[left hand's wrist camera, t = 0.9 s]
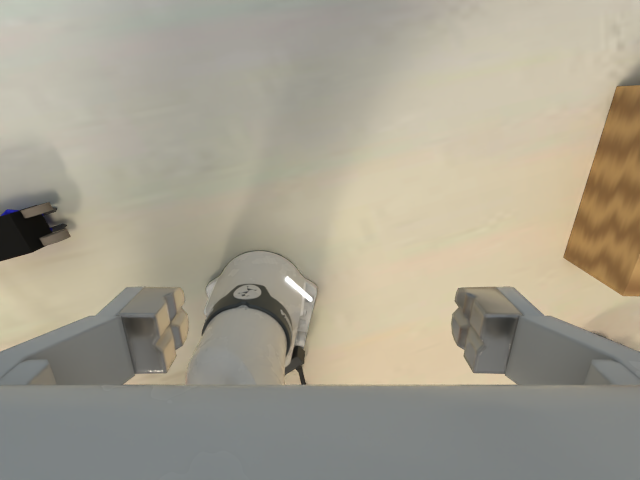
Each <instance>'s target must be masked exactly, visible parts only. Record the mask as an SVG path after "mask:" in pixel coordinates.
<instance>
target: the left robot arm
mask: <svg viewBox="0 0 640 480" xmlns="http://www.w3.org/2000/svg"><path fill="white" fill-rule="evenodd" d="M206 293H207V296H208V301H207V303H206V306H205V308H204V314H205V315H206V320H205V323H204V327H203V330H202V337H201V339H200V341H199V343H198V345H197V347H196V349H195V351H194V353H193V355H192V357H191V359H190V361H189V363H188V366H187V370H186V381H185V383H186V385H123V384H124V383H125V382H127V381H128V380H129V379H131V378H132V377H133V376H135V374H146V373H167V372H168V370H169V368H170V366H171V365H172V363H173V361H174V360H175V358H176V349H178V348H180V347H181V346H183V344H184V342H185V340H186V338H187V334H188V329H189V321H188V314H187V313H186V312H185V311H184V310H183V309H182V308H181V307H182V305H183V304H184V302H185V296H184V291H183V290H182V289H181V288H180V287H145V286H144V287H126V288H125V289H124V290H123V291H122V292H121V293H120V294H119V295H118V296H116V297H115V298H114V299H113V300H112V301H111V302H110V303H109V304H108V305H107V306H105V307H104V308H103V309H102V310H101V311H100V312H99V313H98V314H97V315H96V316H88V317H86V318H83V319H81V320H78V321H76V322H73V323H71V324H68V325H66V326H63V327H61V328H58V329H56V330H53V331H51V332H48V333H46V334H43V335H41V336H38V337H36V338H33V339H31V340H28V341H26V342H23V343H21V344H18V345H16V346H13V347H11V348H8V349H6V350H3V351H1V352H0V480H640V352H639V351H636V350H634V349H631V348H629V347H626V346H624V345H621V344H619V343H616V342H614V341H611V340H609V339H607V338H604V337H602V336H599V335H597V334H594V333H592V332H589V331H587V330H584V329H582V328H579V327H577V326H574V325H572V324H569V323H567V322H564V321H562V320H559V319H557V318H554V317H552V316H544V315H543V314H542V313H541V312H540V311H539V310H538V309H537V308H536V307H535V306H533V305H532V304H531V303H530V302H529V301H528V300H527V299H526V298H525V297H524V296H523V295H521V294H520V293H519V292H518V291H517V290H516V289H515V288H513V287H510V286H507V287H465V288H458V290H457V292H456V296H455V302H456V304H457V305H458V307H459V308H458V309H457V310H456V311H455V312H454V313H453V314H452V322H451V327H452V334H453V338H454V340H455V342H456V344H457V346H459V347H460V348H462V349H464V350H465V351H464V358H465V360H466V361H467V363H468V365H469V366H470V368H471V370H472V371H473V373H494V374H505V376H507V377H508V378H509V379H511V380H512V381H513V382H515V383H516V384H518V385H306V384H305V380H304V376H303V371H302V367H301V366H300V365H302V364H304V357H305V351H304V350H303V349H304V346H305V341H306V336H307V332H308V328H309V324H310V320H311V316H312V312H313V307H314V303H315V299H316V295H317V286H316V285H315V284H314V283H312V282H311V281H309V280H308V279H306V278H304V277H303V276H302V275H301V274H300V272H299V271H298V270H297V268H296V267H295V266H294V265H293V264H292V263H291V262H290V261H288V260H287V259H285V258H284V257H282V256H280V255H278V254H275V253H271V252H266V251H252V252H247V253H244V254H242V255H239V256H237V257H236V258H234V259H233V260H232V261H230V262H229V263H228V265H227V266H226V267H225V269H224V270H223V272H222V273H221V275H220V276H219V277H217V278H215V279H214V280H212V281H211V282H209V283H208V285H207V287H206ZM309 295H310V296H311V297H310V296H309ZM294 369H296V370H297V371H298V372H299V376H300V380H301V384H302V385H285V375H286V374H287V373H289V372H291V371H292V370H294Z"/></svg>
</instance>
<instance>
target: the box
mask: <svg viewBox="0 0 640 480" xmlns="http://www.w3.org/2000/svg"><path fill="white" fill-rule="evenodd" d="M564 258H565V259H566V260H568V261H570V262H571V263H573V264H574V265H576V266H577V267H579V268H580V269H582V270H583V271H585V272H587V273H588V274H590V275H591V276H593V277H594V278H596V279H597V280H599V281H601V282H602V283H604V284H605V285H607V286H608V287H610V288H611V289H613V290H614V291H616V292H618V293H619V294H621V295H622V296H640V85H635V86H617V88H616V91H615V94H614V97H613V101H612V104H611V107H610V110H609V113H608V117H607V120H606V123H605V126H604V129H603V133H602V136H601V139H600V142H599V145H598V149H597V152H596V155H595V158H594V161H593V165H592V168H591V171H590V174H589V177H588V181H587V184H586V187H585V190H584V193H583V197H582V200H581V203H580V206H579V209H578V213H577V216H576V219H575V222H574V225H573V229H572V232H571V235H570V238H569V241H568V245H567V248H566V251H565V254H564Z"/></svg>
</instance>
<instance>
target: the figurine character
mask: <svg viewBox="0 0 640 480" xmlns="http://www.w3.org/2000/svg"><path fill="white" fill-rule="evenodd" d="M56 210H57V208H52V206H51V204H50V202H48V203H44V204H41V205H35V206H32V207H29V208H26V209H22V210H8V209H7V210H6V211H5V212H4V213H3V214H2V215H1V216H0V261H3V260H7V259H10V258H14V257H18V256H21V255H25V254H28V253H32V252H34V251H36V250H38V249H40V248H42V247H45V246H47V245H50V244H53V243H56V242H59V241H62V240H64V239H67V238H69V237H71V236H70V234H69V232H68V230H67V229H65V227H66V226H67V225H65V224H61V225H58V226H54V227H51V228H50V227H49V225H48V224H47V222H46V220H45V218H44V217H43V215H46V214H50V213H53V212H56ZM62 229H64V230H62ZM58 230H60V231H58ZM55 231H57V232H55ZM52 232H54V233H52Z"/></svg>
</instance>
